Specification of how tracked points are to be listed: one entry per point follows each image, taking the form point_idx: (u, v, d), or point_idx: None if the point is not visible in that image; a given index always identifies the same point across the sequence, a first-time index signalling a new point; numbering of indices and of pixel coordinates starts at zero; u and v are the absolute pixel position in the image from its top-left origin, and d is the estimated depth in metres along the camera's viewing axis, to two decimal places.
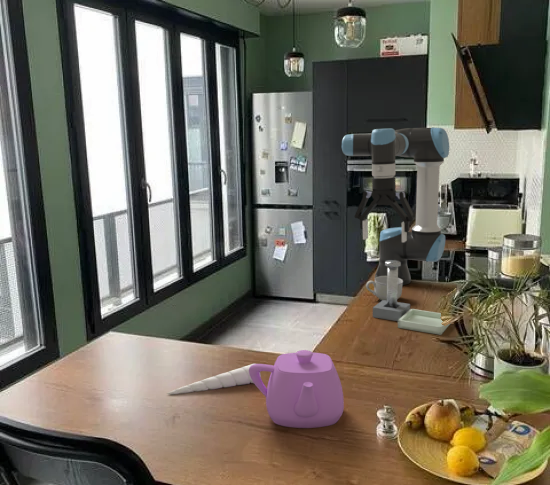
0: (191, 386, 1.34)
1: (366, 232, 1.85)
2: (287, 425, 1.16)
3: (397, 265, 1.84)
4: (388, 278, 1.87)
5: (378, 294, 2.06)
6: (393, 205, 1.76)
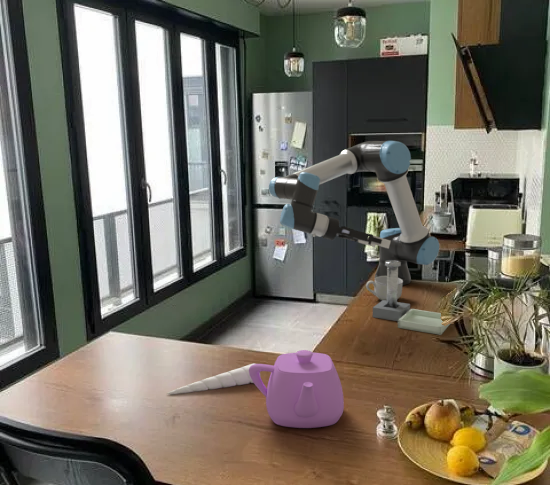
0: (191, 386, 1.34)
1: None
2: (287, 425, 1.16)
3: (397, 265, 1.84)
4: (388, 278, 1.87)
5: (378, 294, 2.06)
6: (351, 238, 1.82)
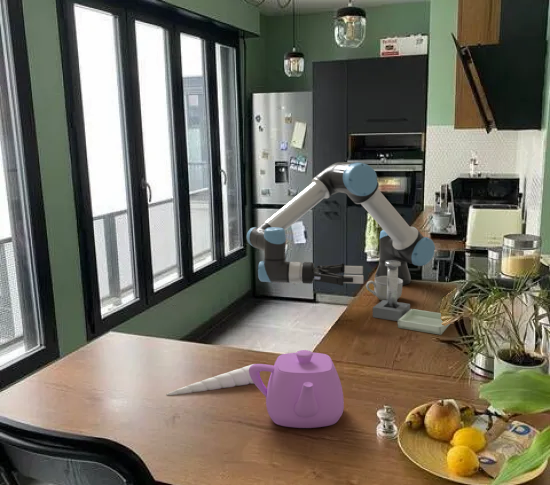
0: (190, 387, 1.34)
1: (356, 269, 1.95)
2: (287, 425, 1.16)
3: (397, 265, 1.84)
4: (388, 278, 1.87)
5: (378, 294, 2.06)
6: None
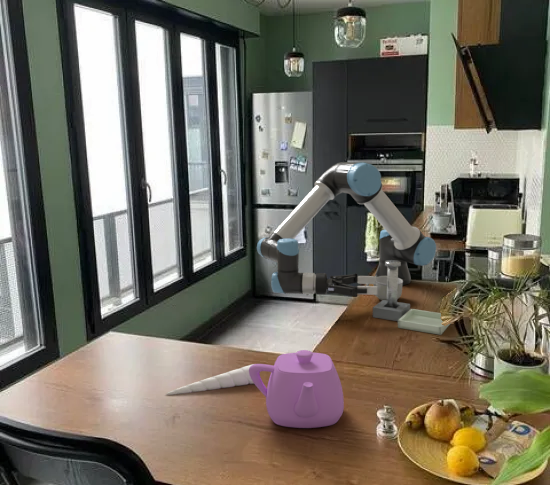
0: (190, 386, 1.34)
1: (369, 280, 1.95)
2: (287, 425, 1.16)
3: (397, 265, 1.84)
4: (388, 278, 1.87)
5: (378, 294, 2.06)
6: None
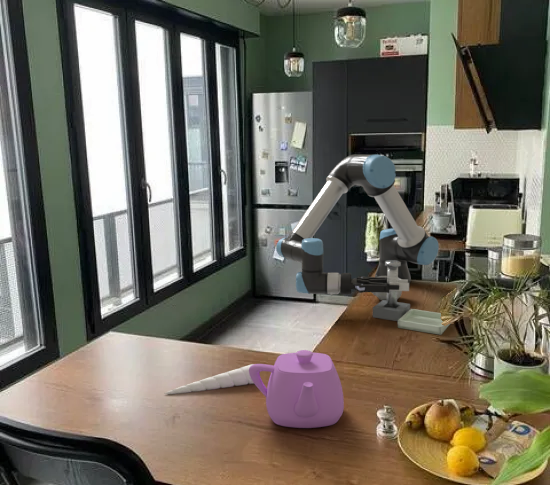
0: (189, 386, 1.34)
1: None
2: (287, 425, 1.16)
3: (397, 265, 1.84)
4: (388, 278, 1.87)
5: (378, 294, 2.06)
6: None
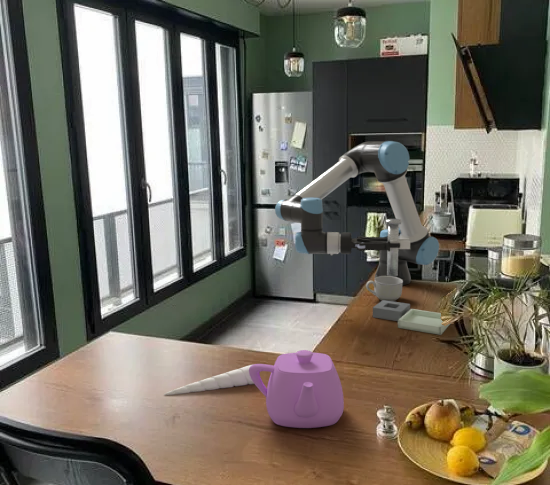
0: (188, 387, 1.34)
1: None
2: (287, 425, 1.16)
3: (398, 223, 1.81)
4: (389, 236, 1.84)
5: (378, 294, 2.06)
6: None
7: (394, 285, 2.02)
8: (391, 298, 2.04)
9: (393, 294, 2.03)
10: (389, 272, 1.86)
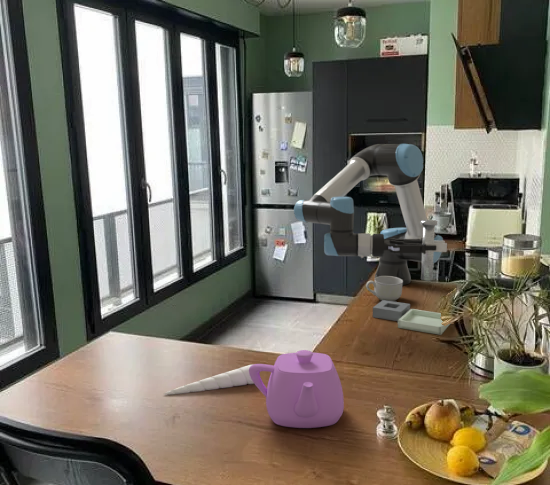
0: (188, 386, 1.34)
1: None
2: (287, 425, 1.16)
3: (434, 224, 1.71)
4: (424, 238, 1.74)
5: (378, 294, 2.06)
6: None
7: (394, 285, 2.02)
8: (391, 298, 2.04)
9: (393, 294, 2.03)
10: (423, 276, 1.76)
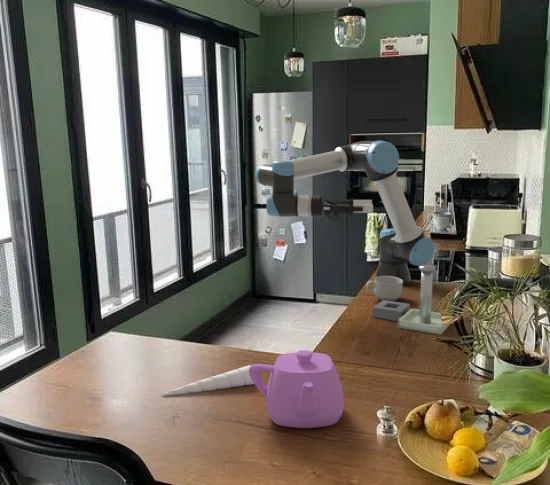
0: (185, 387, 1.34)
1: (365, 203, 1.94)
2: (287, 425, 1.16)
3: (432, 269, 1.74)
4: (422, 283, 1.77)
5: (378, 294, 2.06)
6: None
7: (394, 285, 2.02)
8: (391, 298, 2.04)
9: (393, 294, 2.03)
10: (422, 320, 1.79)
